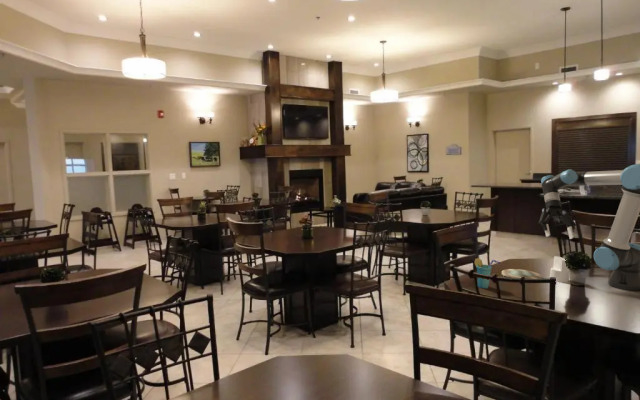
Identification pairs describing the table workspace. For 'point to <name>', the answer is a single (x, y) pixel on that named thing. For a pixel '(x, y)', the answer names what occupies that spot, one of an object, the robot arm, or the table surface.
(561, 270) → the base with upright slab
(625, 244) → the robot arm
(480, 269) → the cup
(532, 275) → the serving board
